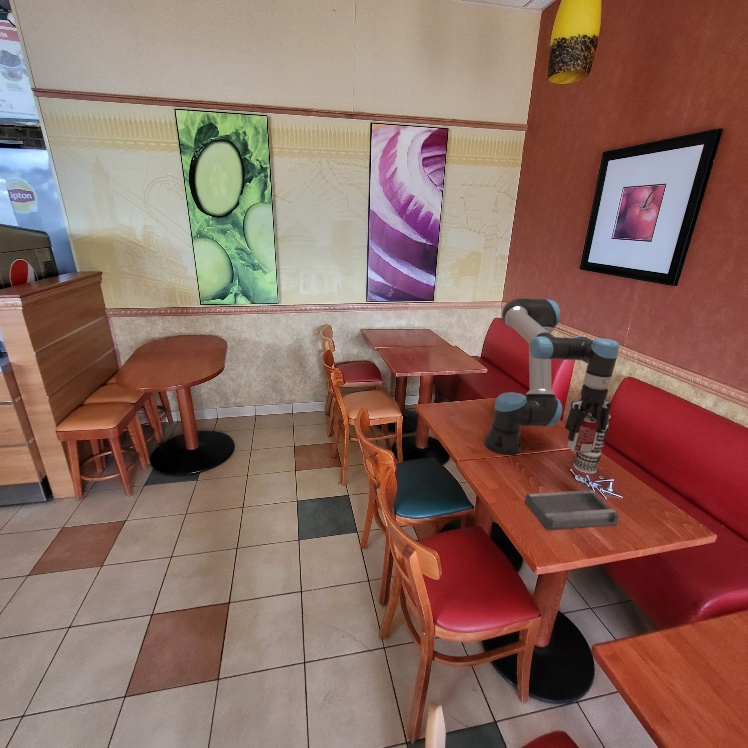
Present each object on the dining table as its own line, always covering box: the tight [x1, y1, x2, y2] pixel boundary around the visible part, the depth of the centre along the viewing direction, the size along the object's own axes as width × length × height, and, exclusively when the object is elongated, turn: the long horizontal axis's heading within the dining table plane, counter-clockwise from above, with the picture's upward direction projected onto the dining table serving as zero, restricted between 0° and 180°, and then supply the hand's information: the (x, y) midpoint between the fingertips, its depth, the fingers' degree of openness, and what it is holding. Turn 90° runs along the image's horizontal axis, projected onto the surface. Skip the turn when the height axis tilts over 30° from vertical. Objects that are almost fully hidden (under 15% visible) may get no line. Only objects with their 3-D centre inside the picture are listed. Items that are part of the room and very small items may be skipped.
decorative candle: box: [572, 413, 612, 474], centre depth 156 cm, size 9×9×25 cm
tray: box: [524, 488, 620, 531], centre depth 133 cm, size 14×24×4 cm, turn 99°
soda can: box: [574, 415, 598, 453], centre depth 138 cm, size 7×7×12 cm
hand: (580, 448), depth 139 cm, fingers closed on soda can, 7 cm apart
